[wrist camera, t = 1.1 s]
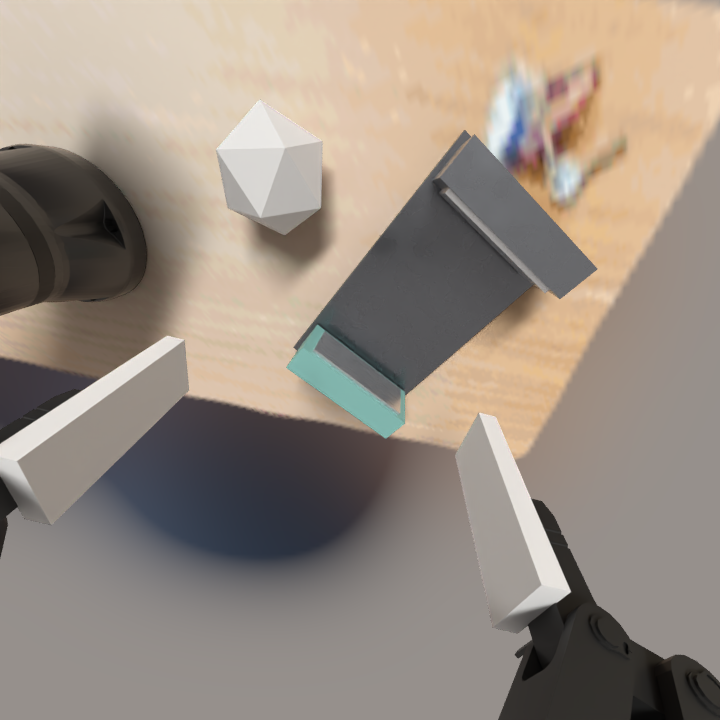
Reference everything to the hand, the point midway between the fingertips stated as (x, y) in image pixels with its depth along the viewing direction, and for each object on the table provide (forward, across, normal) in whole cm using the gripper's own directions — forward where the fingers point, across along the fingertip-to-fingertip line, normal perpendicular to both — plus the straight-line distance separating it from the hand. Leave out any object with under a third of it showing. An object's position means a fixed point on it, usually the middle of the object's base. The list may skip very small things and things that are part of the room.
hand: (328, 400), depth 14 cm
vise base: (+21, +5, -1) cm, 22 cm away
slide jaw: (+19, +1, -10) cm, 22 cm away
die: (+22, -9, +7) cm, 25 cm away
